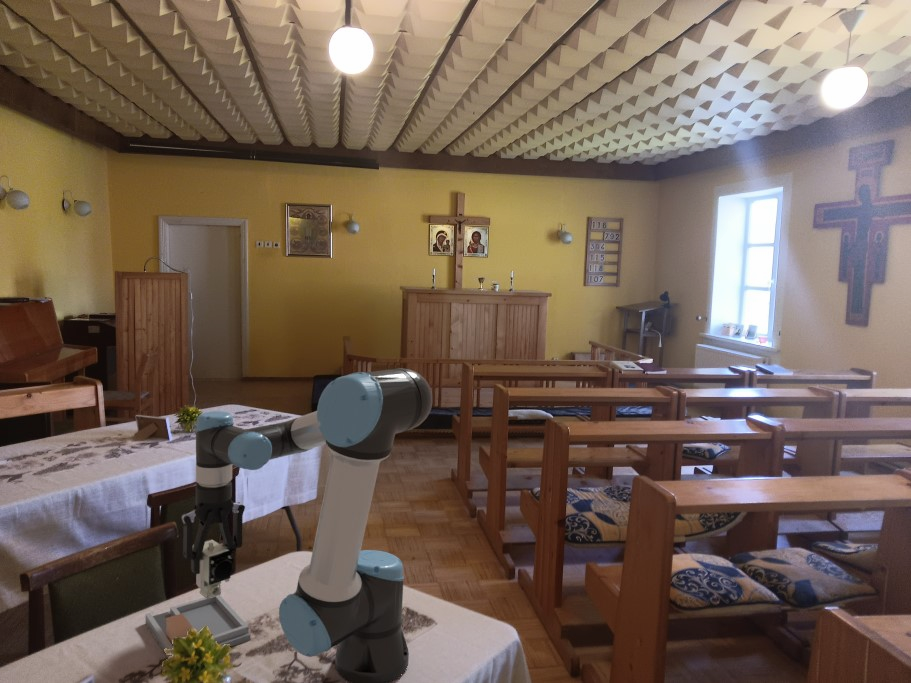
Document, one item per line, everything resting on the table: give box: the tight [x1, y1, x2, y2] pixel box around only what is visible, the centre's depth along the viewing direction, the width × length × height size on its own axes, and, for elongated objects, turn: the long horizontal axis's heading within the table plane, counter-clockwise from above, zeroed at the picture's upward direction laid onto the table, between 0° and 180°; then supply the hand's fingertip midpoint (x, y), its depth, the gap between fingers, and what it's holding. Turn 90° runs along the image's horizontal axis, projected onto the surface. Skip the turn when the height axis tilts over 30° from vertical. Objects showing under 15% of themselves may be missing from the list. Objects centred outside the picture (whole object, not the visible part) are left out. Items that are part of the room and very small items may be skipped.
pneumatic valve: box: [190, 538, 234, 599], centre depth 140 cm, size 6×12×12 cm, turn 48°
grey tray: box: [145, 594, 251, 658], centre depth 139 cm, size 20×16×4 cm
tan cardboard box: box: [166, 614, 191, 646], centre depth 133 cm, size 6×3×4 cm, turn 41°
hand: (212, 582), depth 141 cm, fingers closed on pneumatic valve, 5 cm apart
